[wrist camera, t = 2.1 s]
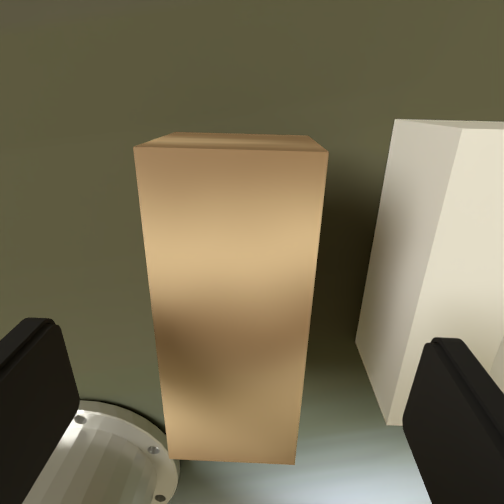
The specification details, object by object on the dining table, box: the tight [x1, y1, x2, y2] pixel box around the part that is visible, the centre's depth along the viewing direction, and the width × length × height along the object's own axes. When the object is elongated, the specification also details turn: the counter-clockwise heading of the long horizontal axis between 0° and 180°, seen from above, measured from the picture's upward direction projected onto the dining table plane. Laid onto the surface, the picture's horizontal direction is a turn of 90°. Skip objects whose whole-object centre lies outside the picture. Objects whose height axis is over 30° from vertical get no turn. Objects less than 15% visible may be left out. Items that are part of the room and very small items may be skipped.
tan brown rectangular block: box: [133, 132, 329, 465], centre depth 15 cm, size 12×5×8 cm, turn 179°
